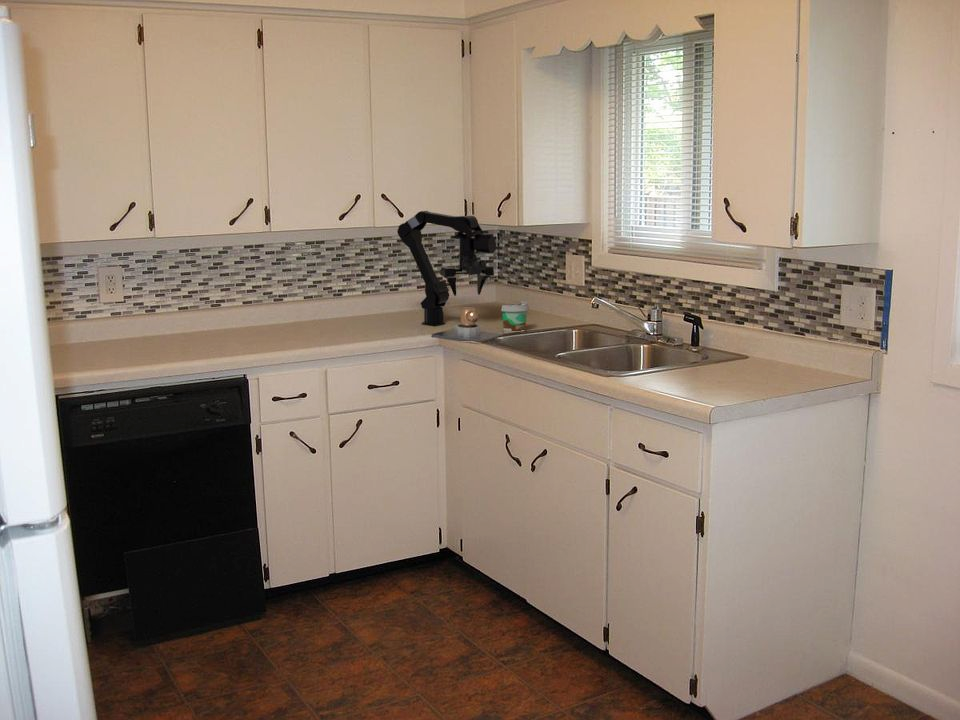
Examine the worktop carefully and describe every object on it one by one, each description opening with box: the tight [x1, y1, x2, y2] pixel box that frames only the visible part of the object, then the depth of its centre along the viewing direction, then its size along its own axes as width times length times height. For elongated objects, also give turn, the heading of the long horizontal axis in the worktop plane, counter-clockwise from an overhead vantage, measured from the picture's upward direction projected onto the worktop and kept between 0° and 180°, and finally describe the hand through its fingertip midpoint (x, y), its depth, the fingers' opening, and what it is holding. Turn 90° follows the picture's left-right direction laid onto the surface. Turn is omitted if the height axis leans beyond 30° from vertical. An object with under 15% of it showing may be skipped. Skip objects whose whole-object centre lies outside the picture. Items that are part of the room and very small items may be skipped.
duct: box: [431, 323, 505, 342], centre depth 342 cm, size 20×15×4 cm
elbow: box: [460, 306, 480, 328], centre depth 340 cm, size 5×8×9 cm, turn 23°
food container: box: [500, 301, 530, 332], centre depth 352 cm, size 12×6×10 cm, turn 143°
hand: (466, 295), depth 357 cm, fingers open, 9 cm apart
